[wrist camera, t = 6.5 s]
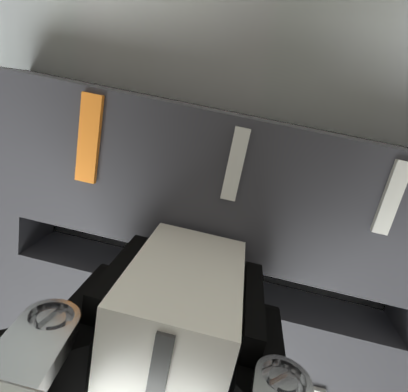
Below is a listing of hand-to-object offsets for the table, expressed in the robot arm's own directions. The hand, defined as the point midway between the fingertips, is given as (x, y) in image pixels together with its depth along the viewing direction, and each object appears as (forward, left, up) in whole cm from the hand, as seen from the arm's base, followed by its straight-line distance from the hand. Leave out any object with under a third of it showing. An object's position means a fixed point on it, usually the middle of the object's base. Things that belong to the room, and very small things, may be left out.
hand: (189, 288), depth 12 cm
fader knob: (0, 0, -3) cm, 3 cm away
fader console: (0, -1, -3) cm, 3 cm away
